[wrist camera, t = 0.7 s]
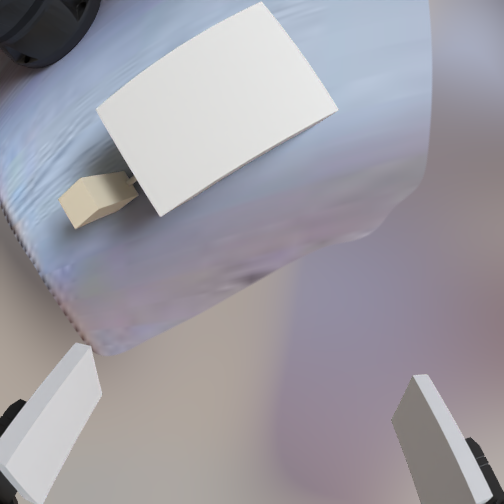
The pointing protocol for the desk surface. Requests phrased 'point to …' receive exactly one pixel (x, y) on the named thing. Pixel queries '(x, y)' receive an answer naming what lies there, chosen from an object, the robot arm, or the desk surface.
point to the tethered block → (97, 197)
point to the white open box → (214, 107)
